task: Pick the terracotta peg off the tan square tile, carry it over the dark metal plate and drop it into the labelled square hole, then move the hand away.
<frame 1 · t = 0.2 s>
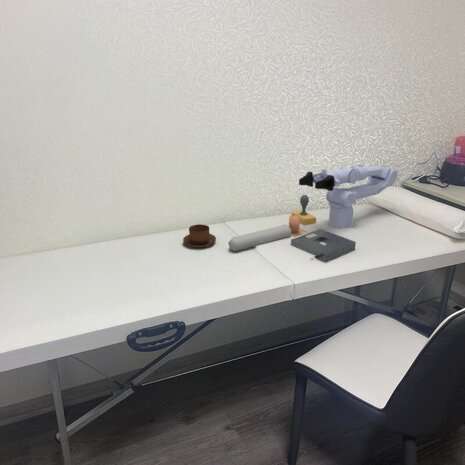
hand: (307, 183, 155), 21 cm above the table, tool horizontal, fingers open, 7 cm apart
rubber stamp: (303, 223, 179), on the table
hole plate: (322, 248, 155), on the table
tan square tile: (293, 233, 168), on the table
peg: (293, 231, 167), point 1 cm above the table, touching tan square tile
cup and saucer: (199, 244, 160), on the table
tube: (255, 236, 160), point 2 cm above the table
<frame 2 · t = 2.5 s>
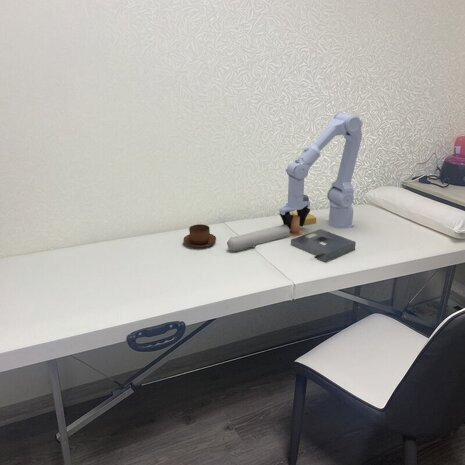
hand: (294, 228, 167), 2 cm above the table, tool pointing down, fingers open, 7 cm apart
tube: (254, 236, 160), point 2 cm above the table, touching gripper
everything else where it was.
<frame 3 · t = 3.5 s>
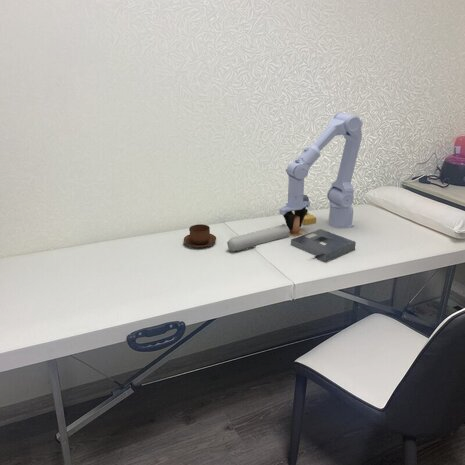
hand: (293, 228, 167), 2 cm above the table, tool pointing down, fingers closed on peg, 4 cm apart
peg: (293, 231, 167), point 1 cm above the table, touching gripper, tan square tile
tube: (254, 236, 160), point 2 cm above the table
everything else where it was.
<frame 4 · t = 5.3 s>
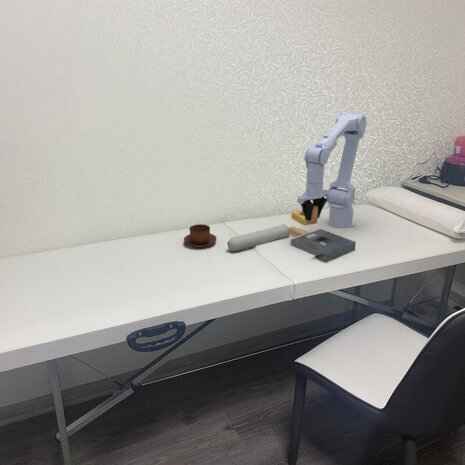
hand: (312, 218, 156), 9 cm above the table, tool pointing down, fingers closed on peg, 4 cm apart
peg: (311, 222, 157), point 8 cm above the table, touching gripper
everything else where it was.
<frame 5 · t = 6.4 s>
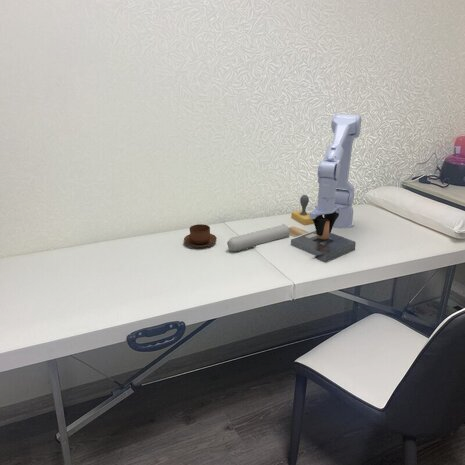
hand: (323, 233, 153), 6 cm above the table, tool pointing down, fingers closed on peg, 4 cm apart
peg: (323, 237, 153), point 4 cm above the table, touching gripper
everything else where it was.
when the fingers open (5 cm above the table, at t = 7.3 s): peg drops 4 cm, resting in hole plate.
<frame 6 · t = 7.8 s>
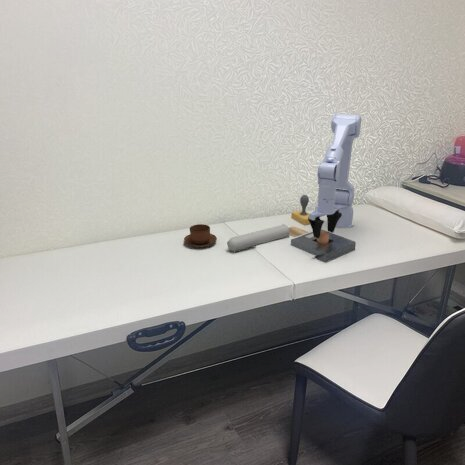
hand: (323, 234, 153), 5 cm above the table, tool pointing down, fingers open, 7 cm apart
peg: (322, 248, 155), resting in hole plate
everything else where it was.
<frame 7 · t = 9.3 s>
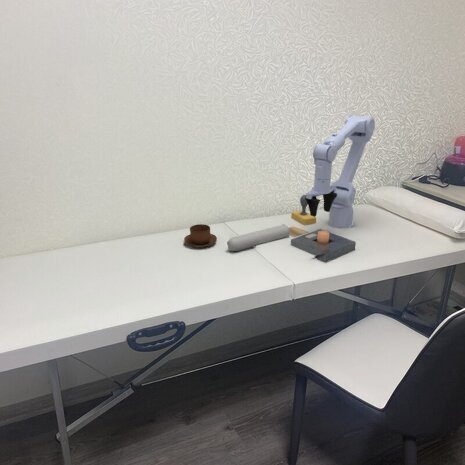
hand: (320, 213, 161), 9 cm above the table, tool pointing down, fingers open, 7 cm apart
nothing on the table moved.
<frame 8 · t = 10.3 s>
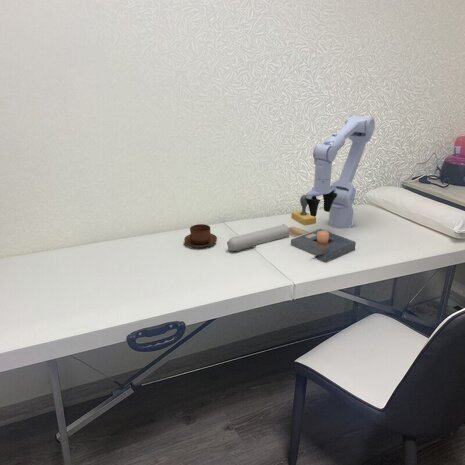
hand: (320, 213, 161), 9 cm above the table, tool pointing down, fingers open, 7 cm apart
nothing on the table moved.
at the end: peg 0.2 cm off-centre on the hole plate, point 0.0 cm above the hole plate's base; peg tilted 1°; the gripper is holding nothing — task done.
